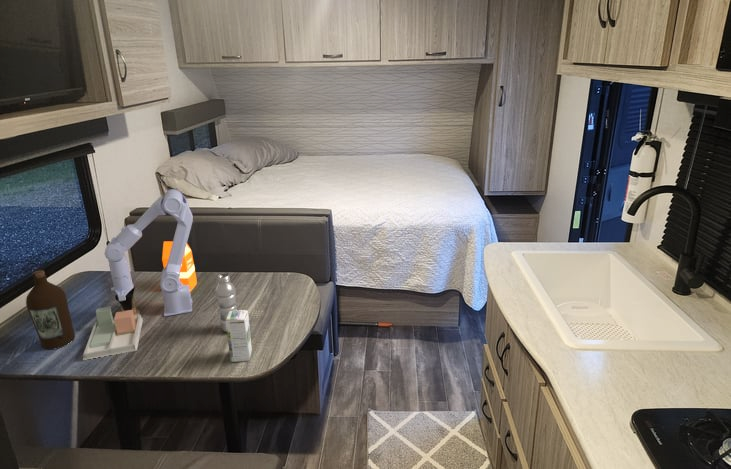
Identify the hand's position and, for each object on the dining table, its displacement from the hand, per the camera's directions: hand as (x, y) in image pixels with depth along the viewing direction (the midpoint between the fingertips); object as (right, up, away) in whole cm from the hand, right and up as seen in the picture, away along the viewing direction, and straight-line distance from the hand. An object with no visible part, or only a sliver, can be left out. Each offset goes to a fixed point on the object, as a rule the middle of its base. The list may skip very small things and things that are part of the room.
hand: (129, 309), depth 167 cm
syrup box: (+46, -11, -22) cm, 52 cm away
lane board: (+1, -8, -11) cm, 14 cm away
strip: (-3, -7, -10) cm, 13 cm away
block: (+3, -5, -9) cm, 10 cm away
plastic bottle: (+38, -6, -8) cm, 39 cm away
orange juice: (+10, +5, +22) cm, 25 cm away
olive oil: (-17, -9, -12) cm, 23 cm away
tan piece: (+2, -4, -4) cm, 6 cm away
